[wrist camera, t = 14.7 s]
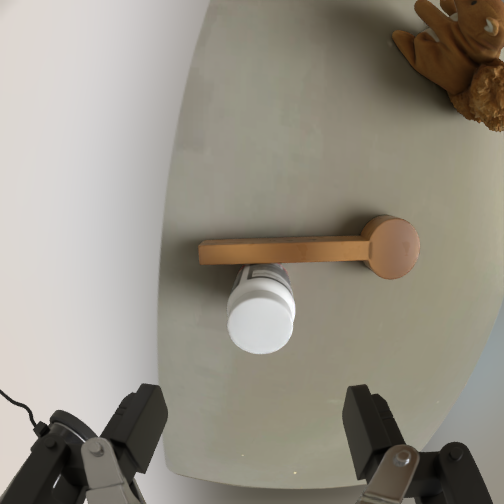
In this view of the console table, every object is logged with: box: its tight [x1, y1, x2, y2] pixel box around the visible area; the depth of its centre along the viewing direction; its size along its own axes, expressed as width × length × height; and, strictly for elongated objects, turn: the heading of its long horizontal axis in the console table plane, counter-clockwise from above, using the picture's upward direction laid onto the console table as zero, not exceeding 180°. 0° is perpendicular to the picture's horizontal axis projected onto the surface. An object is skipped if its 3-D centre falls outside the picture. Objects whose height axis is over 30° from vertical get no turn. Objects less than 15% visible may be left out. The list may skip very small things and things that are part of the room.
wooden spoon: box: [198, 215, 420, 279], centre depth 22 cm, size 19×5×2 cm, turn 93°
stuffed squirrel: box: [392, 0, 504, 132], centre depth 11 cm, size 10×14×13 cm
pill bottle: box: [227, 263, 295, 354], centre depth 20 cm, size 5×5×8 cm
